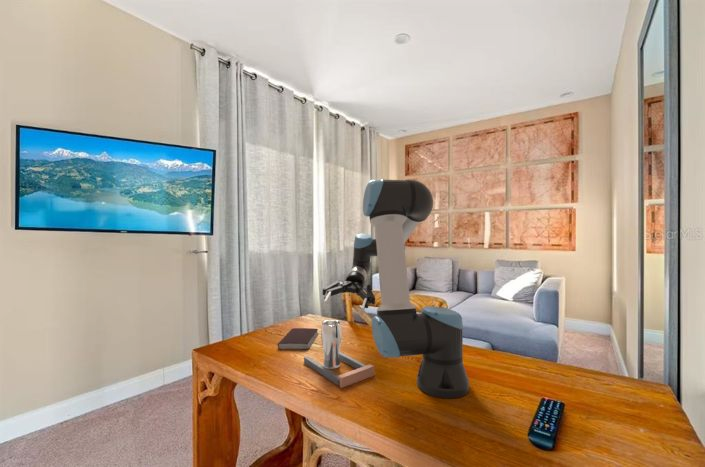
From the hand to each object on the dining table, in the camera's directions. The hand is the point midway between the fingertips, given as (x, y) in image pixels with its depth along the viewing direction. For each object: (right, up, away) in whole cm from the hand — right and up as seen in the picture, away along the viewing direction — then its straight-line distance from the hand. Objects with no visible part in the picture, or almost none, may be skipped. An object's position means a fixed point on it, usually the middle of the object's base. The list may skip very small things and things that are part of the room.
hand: (343, 307), depth 114 cm
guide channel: (-2, -20, -5) cm, 20 cm away
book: (-19, -20, +23) cm, 36 cm away
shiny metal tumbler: (-4, -20, -1) cm, 20 cm away
